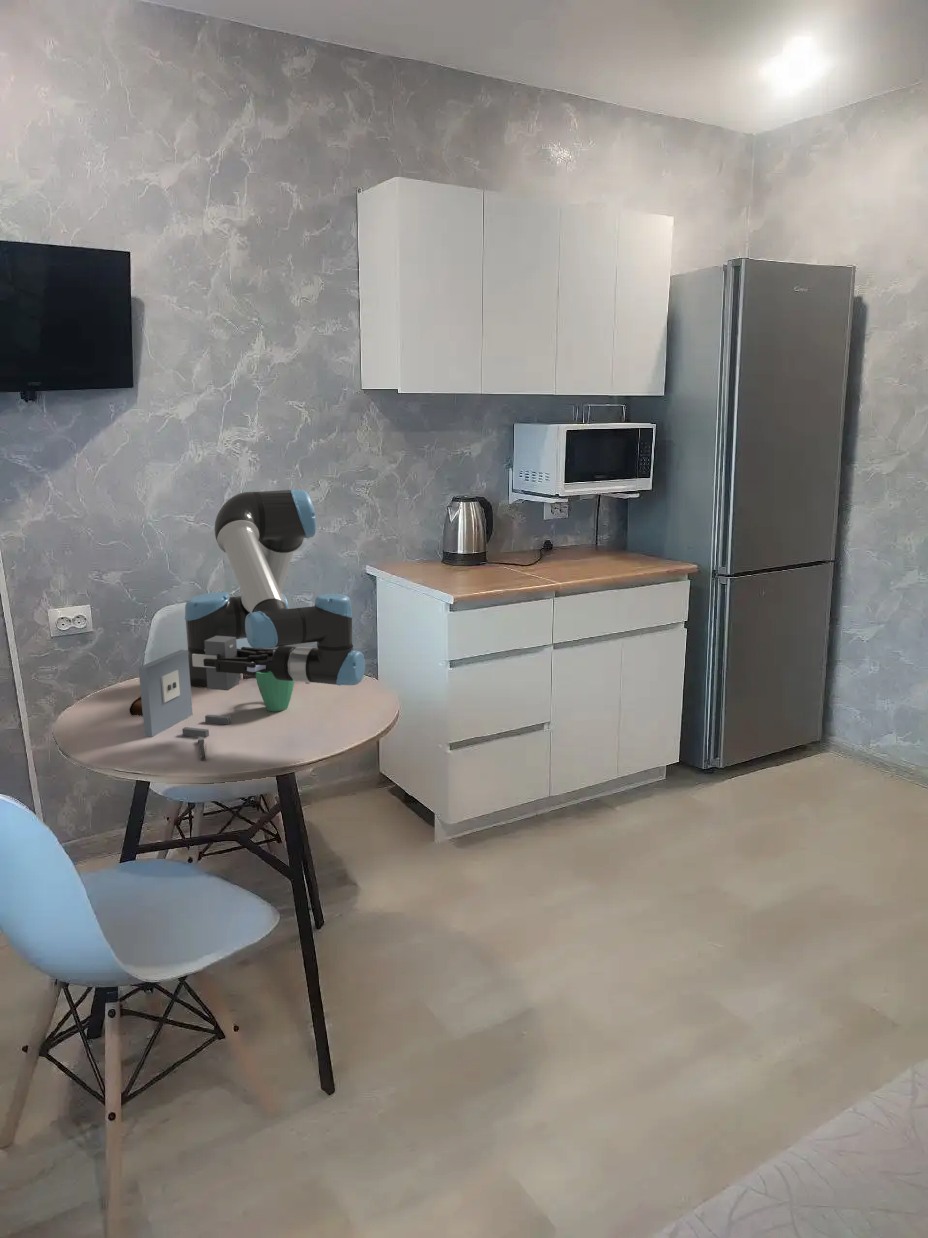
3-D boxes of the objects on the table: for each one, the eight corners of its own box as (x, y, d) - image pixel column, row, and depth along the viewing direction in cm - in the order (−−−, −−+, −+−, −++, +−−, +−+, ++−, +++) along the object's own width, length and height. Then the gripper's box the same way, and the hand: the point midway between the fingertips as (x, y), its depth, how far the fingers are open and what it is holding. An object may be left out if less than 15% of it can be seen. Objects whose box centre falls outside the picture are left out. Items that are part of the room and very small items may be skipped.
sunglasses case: (165, 715, 218) (149, 692, 216) (141, 729, 218) (124, 707, 217) (185, 693, 235) (170, 672, 234) (162, 706, 236) (147, 685, 235)
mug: (300, 712, 219) (298, 672, 217) (258, 716, 217) (256, 676, 214) (292, 695, 233) (291, 657, 231) (253, 698, 230) (251, 660, 228)
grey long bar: (198, 741, 200) (197, 737, 200) (203, 740, 200) (203, 736, 200) (200, 760, 189) (200, 756, 188) (206, 760, 189) (206, 755, 189)
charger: (215, 682, 207) (212, 635, 205) (239, 684, 205) (236, 637, 203) (203, 688, 202) (200, 640, 200) (228, 690, 201) (225, 642, 198)
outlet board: (185, 714, 219) (180, 649, 215) (236, 719, 215) (232, 653, 211) (144, 736, 204) (138, 667, 200) (199, 741, 200) (193, 671, 196)
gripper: (276, 692, 190) (178, 684, 196) (313, 669, 207) (222, 662, 213) (274, 657, 188) (176, 650, 194) (311, 637, 205) (220, 631, 211)
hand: (200, 656), depth 204 cm, fingers closed on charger, 5 cm apart
